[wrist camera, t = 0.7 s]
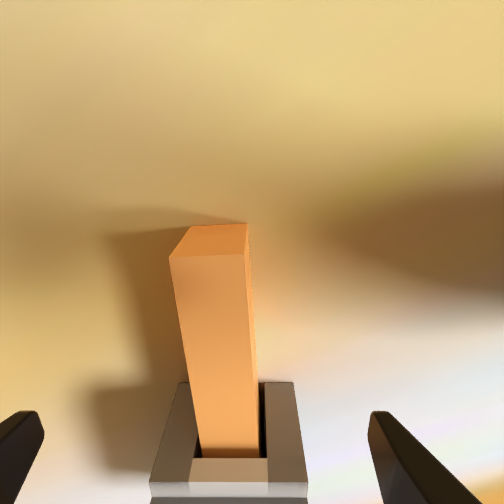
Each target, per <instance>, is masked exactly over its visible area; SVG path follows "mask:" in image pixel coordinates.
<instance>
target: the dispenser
mask: <svg viewBox="0 0 504 504" xmlns="http://www.w3.org/2000/svg"><path fill="white" fill-rule="evenodd" d="M149 486H150V491H151V495H152V499H151V502H150V504H308V501H307V492H308V477H307V471H306V464H305V457H304V451H303V444H302V438H301V431H300V424H299V418H298V411H297V404H296V398H295V391H294V385H293V383H265V458H203V456H202V450H201V444H200V439H199V433H198V427H197V421H196V415H195V410H194V404H193V398H192V392H191V386H190V383H179V385H178V389H177V392H176V395H175V398H174V402H173V405H172V408H171V411H170V415H169V418H168V421H167V424H166V427H165V431H164V434H163V437H162V440H161V444H160V447H159V450H158V453H157V457H156V460H155V463H154V466H153V470H152V473H151V476H150V479H149Z"/></svg>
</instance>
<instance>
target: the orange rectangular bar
mask: <svg viewBox="0 0 504 504" xmlns="http://www.w3.org/2000/svg"><path fill="white" fill-rule="evenodd" d="M168 259H169V265H170V271H171V276H172V282H173V288H174V294H175V300H176V305H177V311H178V317H179V323H180V329H181V334H182V340H183V346H184V352H185V357H186V363H187V369H188V375H189V381H190V386H191V392H192V398H193V404H194V410H195V415H196V421H197V427H198V433H199V439H200V444H201V450H202V456H203V458H263V446H262V431H261V416H260V402H259V387H258V372H257V358H256V343H255V329H254V314H253V299H252V285H251V270H250V255H249V241H248V226H247V223H240V224H222V225H204V226H191V227H190V228H189V230H188V231H187V232H186V234H185V235H184V237H183V238H182V239H181V241H180V242H179V244H178V245H177V246H176V248H175V249H174V250H173V252H172V253H171V255H170V256H169V257H168Z"/></svg>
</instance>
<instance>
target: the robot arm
mask: <svg viewBox="0 0 504 504" xmlns="http://www.w3.org/2000/svg"><path fill="white" fill-rule="evenodd" d="M43 439H44V429H43V426H42V424H41V421H40V418H39V416H38V413H37V412H36V411H19V412H17V413H15V414H13V415H12V416H10V417H9V418H7V419H6V420H4V421H3V422H1V423H0V504H14V502H15V500H16V498H17V496H18V494H19V492H20V489H21V487H22V485H23V483H24V481H25V479H26V477H27V474H28V472H29V470H30V468H31V466H32V464H33V462H34V460H35V457H36V455H37V453H38V451H39V449H40V447H41V445H42V442H43ZM368 443H369V447H370V451H371V455H372V459H373V463H374V467H375V471H376V475H377V479H378V483H379V487H380V491H381V495H382V499H383V503H384V504H482V503H481V502H480V501H479V500H478V499H477V498H476V497H475V496H474V495H473V494H472V493H471V492H470V491H469V490H468V489H467V488H466V487H465V486H464V485H463V484H462V483H461V482H460V481H459V480H458V479H457V478H456V477H455V476H454V475H453V474H452V473H451V472H450V471H449V470H448V469H446V468H445V467H444V466H443V465H442V464H441V463H440V462H439V461H438V460H437V459H436V458H435V457H434V456H433V455H432V454H431V453H430V452H429V451H428V450H427V449H426V448H425V447H424V446H423V445H422V444H421V443H420V442H419V441H418V440H417V439H416V438H415V437H414V436H413V435H412V434H411V433H410V432H409V431H408V430H407V429H406V428H405V427H404V426H403V425H402V424H401V423H400V422H399V421H398V420H397V419H396V418H394V417H393V416H392V415H391V414H390V413H389V412H387V411H373V412H372V413H371V416H370V422H369V428H368Z"/></svg>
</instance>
